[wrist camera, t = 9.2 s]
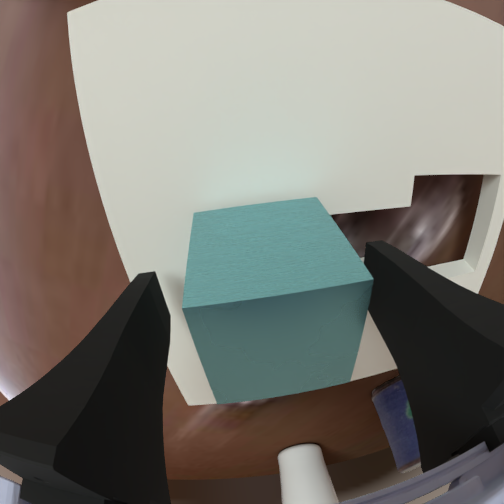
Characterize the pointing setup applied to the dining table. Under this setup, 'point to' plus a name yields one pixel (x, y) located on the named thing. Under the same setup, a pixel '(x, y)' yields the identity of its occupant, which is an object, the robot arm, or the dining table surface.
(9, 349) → the dining table surface
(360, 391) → the dining table surface
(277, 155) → the keyhole plate
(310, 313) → the peg
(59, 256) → the dining table surface
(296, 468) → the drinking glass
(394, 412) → the flask
